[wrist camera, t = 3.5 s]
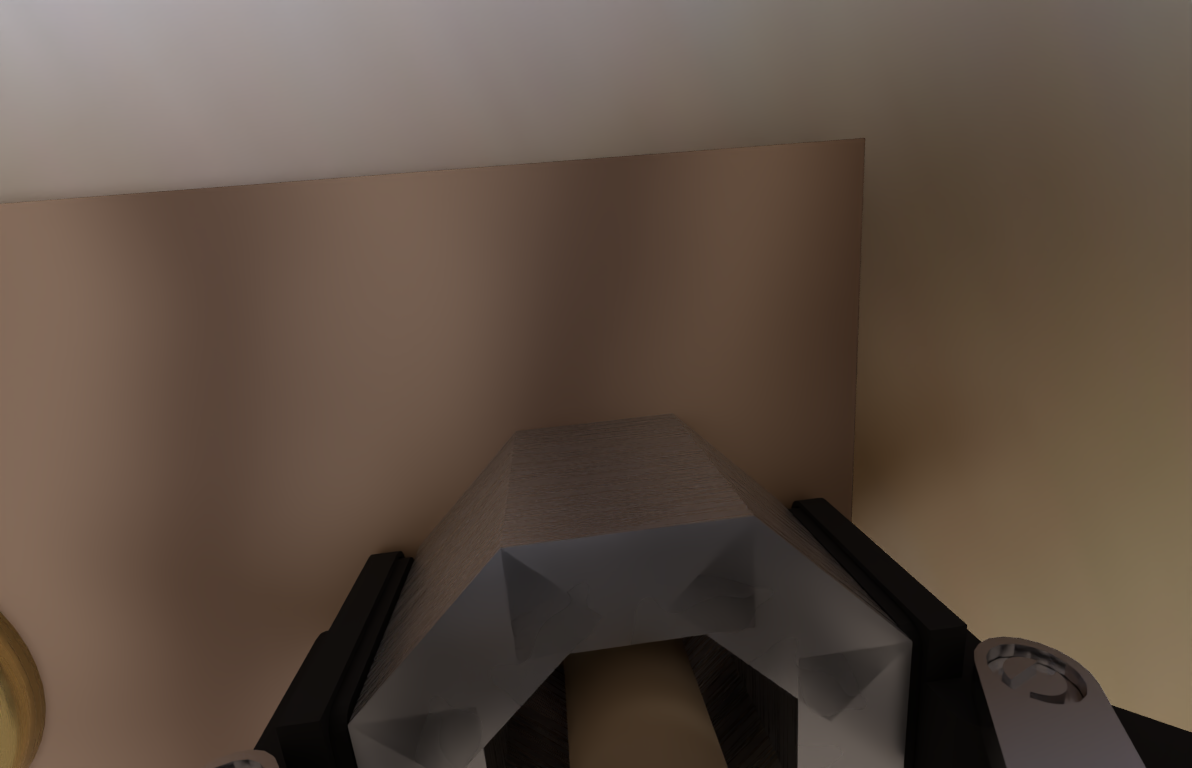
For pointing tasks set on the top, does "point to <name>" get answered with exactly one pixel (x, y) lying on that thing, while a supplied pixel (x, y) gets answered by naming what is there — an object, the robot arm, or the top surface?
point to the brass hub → (19, 700)
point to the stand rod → (638, 709)
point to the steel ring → (629, 610)
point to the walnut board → (371, 394)
